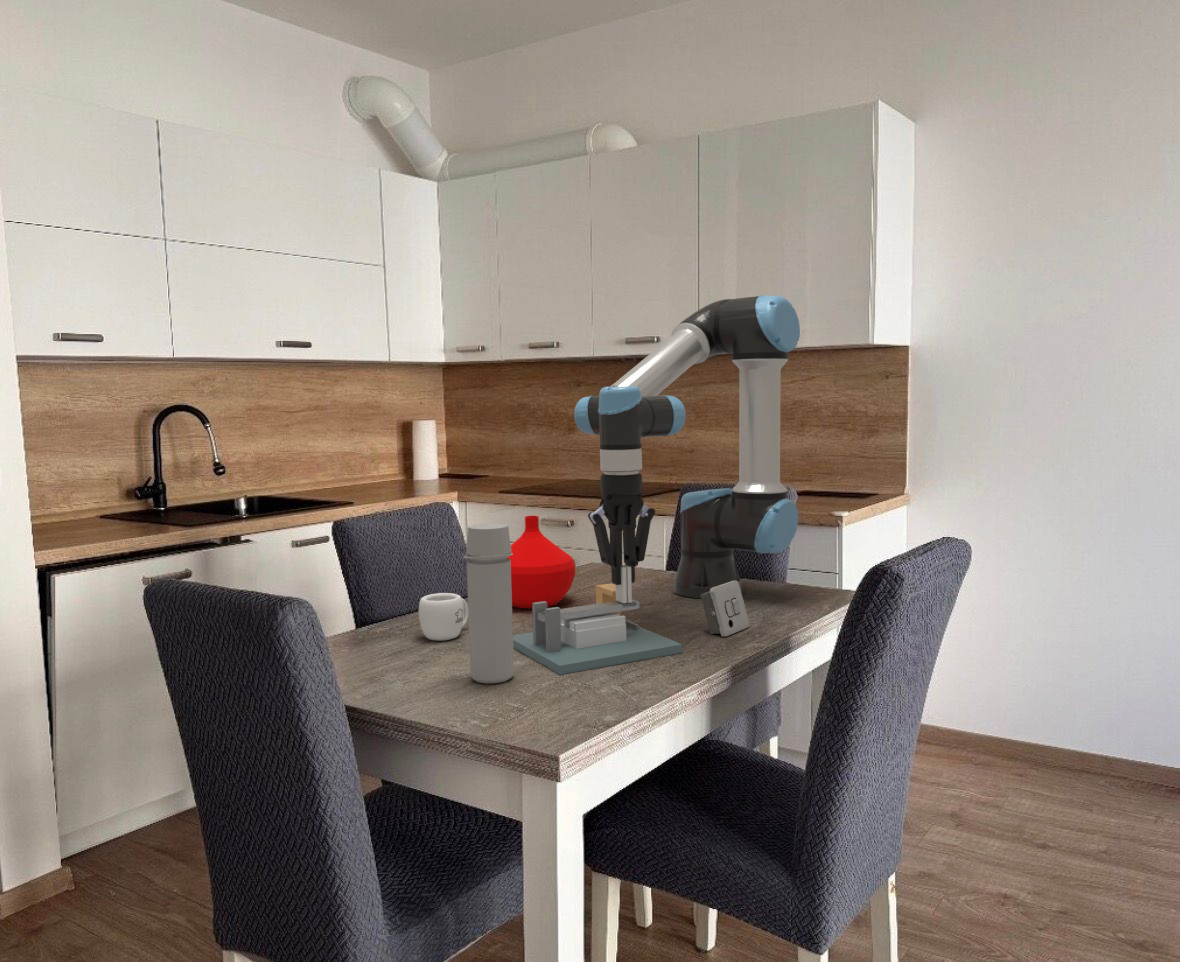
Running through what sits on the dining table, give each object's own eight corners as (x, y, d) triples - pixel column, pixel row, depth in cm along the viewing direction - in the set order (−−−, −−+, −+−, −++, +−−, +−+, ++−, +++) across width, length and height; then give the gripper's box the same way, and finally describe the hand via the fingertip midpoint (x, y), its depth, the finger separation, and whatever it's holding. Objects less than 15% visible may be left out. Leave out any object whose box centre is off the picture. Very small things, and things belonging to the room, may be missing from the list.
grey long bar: (630, 605, 178) (630, 598, 177) (639, 608, 175) (639, 601, 175) (537, 619, 169) (537, 612, 169) (545, 622, 166) (544, 615, 166)
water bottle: (521, 682, 154) (516, 527, 151) (472, 687, 152) (466, 531, 149) (509, 666, 163) (504, 520, 160) (463, 671, 160) (457, 523, 158)
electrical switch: (725, 638, 177) (720, 588, 177) (701, 637, 181) (697, 588, 180) (750, 628, 185) (746, 580, 184) (727, 626, 188) (723, 579, 188)
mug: (444, 645, 177) (443, 603, 176) (410, 639, 181) (408, 599, 180) (485, 630, 187) (484, 591, 186) (451, 625, 191) (450, 586, 190)
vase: (585, 609, 202) (583, 519, 200) (498, 616, 198) (495, 524, 196) (565, 591, 220) (563, 509, 218) (486, 597, 215) (483, 513, 214)
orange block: (614, 621, 185) (614, 582, 185) (631, 628, 180) (631, 588, 179) (596, 624, 184) (595, 585, 183) (613, 631, 178) (612, 591, 177)
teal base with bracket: (619, 626, 188) (619, 580, 187) (682, 652, 169) (681, 602, 168) (506, 644, 177) (505, 595, 176) (559, 674, 157) (558, 620, 156)
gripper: (642, 468, 179) (644, 593, 181) (578, 473, 173) (581, 602, 175) (663, 471, 172) (665, 600, 175) (598, 476, 166) (601, 610, 168)
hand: (623, 601), depth 175 cm, fingers closed
